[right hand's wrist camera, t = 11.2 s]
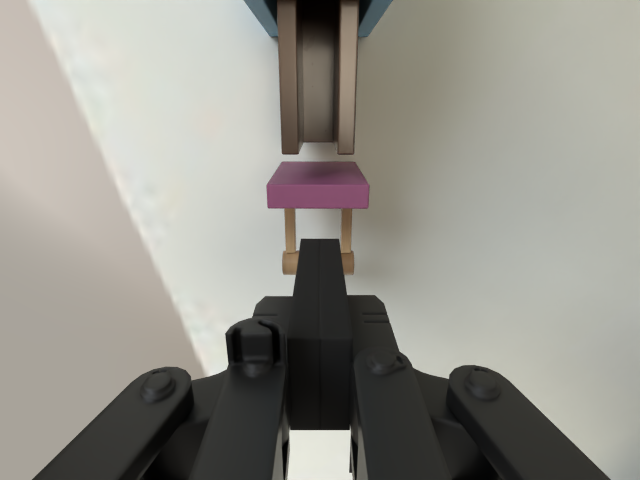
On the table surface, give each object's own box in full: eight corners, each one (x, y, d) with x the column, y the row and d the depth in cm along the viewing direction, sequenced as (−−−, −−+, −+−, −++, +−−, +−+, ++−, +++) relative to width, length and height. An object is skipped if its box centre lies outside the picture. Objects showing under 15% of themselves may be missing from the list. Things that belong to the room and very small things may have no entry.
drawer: (352, 252, 27) (363, 305, 20) (284, 252, 27) (272, 305, 20) (369, -227, 18) (400, -442, 11) (268, -227, 18) (235, -442, 11)
